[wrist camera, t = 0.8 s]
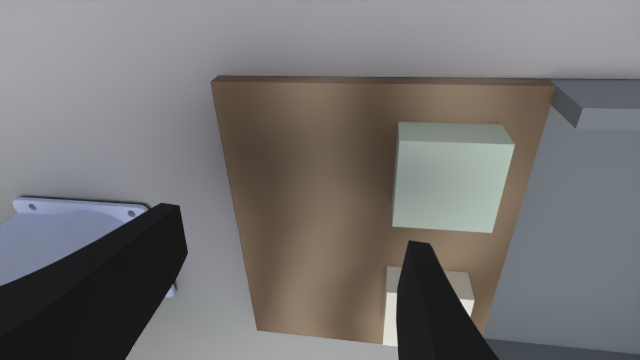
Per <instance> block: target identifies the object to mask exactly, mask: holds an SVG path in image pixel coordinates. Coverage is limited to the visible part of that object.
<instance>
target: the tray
mask: <svg viewBox="0 0 640 360" xmlns="http://www.w3.org/2000/svg"><path fill="white" fill-rule="evenodd" d="M549 80H550V81H551V82H552V83H554V84H555V85H556V90H555V93H554V96H553V100H552V103H551V107H550V110H549V113H548V117H547V120H546V124H545V127H544V130H543V134H542V137H541V140H540V144H539V147H538V151H537V154H536V157H535V161H534V164H533V167H532V171H531V174H530V178H529V181H528V184H527V188H526V191H525V194H524V198H523V201H522V205H521V208H520V211H519V215H518V218H517V221H516V225H515V228H514V232H513V235H512V238H511V242H510V245H509V248H508V252H507V255H506V259H505V262H504V265H503V269H502V272H501V276H500V279H499V282H498V286H497V289H496V292H495V296H494V299H493V303H492V306H491V309H490V313H489V316H488V319H487V323H486V326H485V330H484V333H483V337H484V339H485V340H486V342H487V343H488V345H489V346H490V347H491V349H492V350H493V352H494V353H495V354H496V356H497V357H498V358H499V359H500V360H640V80H627V79H549Z"/></svg>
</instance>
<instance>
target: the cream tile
mask: <svg viewBox="0 0 640 360" xmlns="http://www.w3.org/2000/svg"><path fill="white" fill-rule="evenodd" d="M401 270H402V267H394V266H387V273H386V285H385V298H384V311H383V345H389V346H398V343H397V329H396V302H397V286H398V282H399V278H400V274H401ZM444 272H445V274H446V276H447V278H448V280H449V282H450V284H451V285H452V287H453V289H454V291H455V293H456V294H457V296H458V298H459V299H460V301H461V303H462V305H463V306H464V308H465V310H466V311H467V313H468V315H469V316H471V313H472V309H473V305H474V301H475V300H474V296H473V292H472V287H471V283H470V279H469V275H468V272H456V271H444Z"/></svg>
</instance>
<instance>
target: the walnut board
mask: <svg viewBox="0 0 640 360" xmlns="http://www.w3.org/2000/svg"><path fill="white" fill-rule="evenodd" d="M211 88H212V93H213V98H214V104H215V109H216V114H217V120H218V125H219V130H220V135H221V141H222V146H223V151H224V157H225V162H226V167H227V173H228V178H229V183H230V189H231V194H232V199H233V205H234V210H235V215H236V220H237V226H238V231H239V236H240V242H241V247H242V252H243V258H244V263H245V268H246V274H247V279H248V284H249V289H250V295H251V300H252V305H253V311H254V316H255V321H256V327H257V330H259V331H268V332H277V333H286V334H295V335H304V336H313V337H322V338H331V339H340V340H349V341H358V342H367V343H376V344H383V311H384V298H385V285H386V273H387V266H394V267H402V265H403V261H404V257H405V253H406V249H407V245H408V241H409V240H412V241H419V242H425V243H430V244H431V246H432V247H433V249H434V252H435V254H436V256H437V258H438V260H439V262H440V264H441V266H442V268H443V270H444V271H456V272H468V275H469V279H470V283H471V287H472V292H473V296H474V300H475V301H474V305H473V309H472V313H471V316H470V318H471V319H472V321H473V322H474V324H475V325H476V327H477V328H478V330H479V332H480V333H481V335H482V336H483V333H484V330H485V326H486V323H487V319H488V316H489V313H490V309H491V306H492V303H493V299H494V296H495V292H496V289H497V286H498V282H499V279H500V276H501V272H502V269H503V265H504V262H505V259H506V255H507V252H508V248H509V245H510V242H511V238H512V235H513V232H514V228H515V225H516V221H517V218H518V215H519V211H520V208H521V205H522V201H523V198H524V194H525V191H526V188H527V184H528V181H529V178H530V174H531V171H532V167H533V164H534V161H535V157H536V154H537V151H538V147H539V144H540V140H541V137H542V134H543V130H544V127H545V124H546V120H547V117H548V113H549V110H550V107H551V103H552V100H553V96H554V93H555V90H556V85H555V84H554V83H552V82H551V81H550V80H549V79H518V78H409V77H300V76H217V77H216V78H215V79H214V80H212V81H211ZM398 122H426V123H464V124H502V125H503V127H504V128H505V130H506V131H507V133H508V134H509V136H510V137H511V139H512V141H513V142H514V144H515V147H514V150H513V154H512V158H511V162H510V166H509V170H508V174H507V177H506V181H505V185H504V189H503V193H502V197H501V201H500V204H499V208H498V212H497V216H496V220H495V224H494V228H493V231H492V233H484V232H469V231H454V230H439V229H423V228H408V227H393V226H392V196H393V183H394V170H395V157H396V144H397V131H398Z"/></svg>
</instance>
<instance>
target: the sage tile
mask: <svg viewBox="0 0 640 360" xmlns="http://www.w3.org/2000/svg"><path fill="white" fill-rule="evenodd" d="M514 147H515V144H514V142H513V141H512V139H511V137H510V136H509V134H508V133H507V131H506V130H505V128H504V127H503V125H502V124H464V123H426V122H398V131H397V144H396V157H395V170H394V183H393V196H392V226H393V227H408V228H423V229H439V230H454V231H469V232H484V233H492V231H493V228H494V224H495V220H496V216H497V212H498V208H499V204H500V201H501V197H502V193H503V189H504V185H505V181H506V177H507V174H508V170H509V166H510V162H511V158H512V154H513V150H514Z"/></svg>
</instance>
